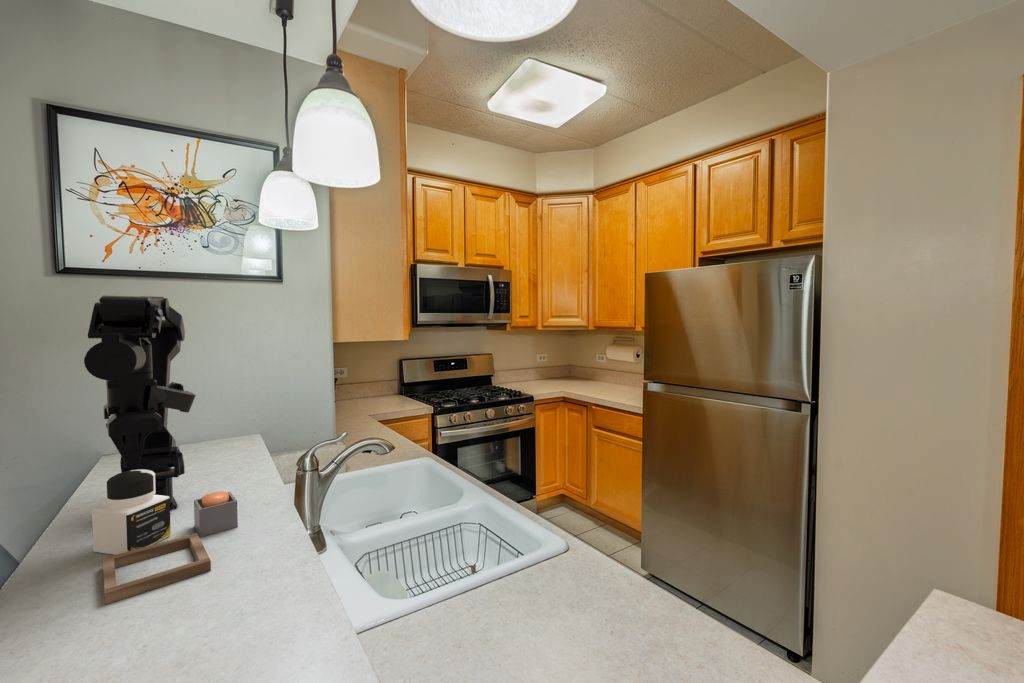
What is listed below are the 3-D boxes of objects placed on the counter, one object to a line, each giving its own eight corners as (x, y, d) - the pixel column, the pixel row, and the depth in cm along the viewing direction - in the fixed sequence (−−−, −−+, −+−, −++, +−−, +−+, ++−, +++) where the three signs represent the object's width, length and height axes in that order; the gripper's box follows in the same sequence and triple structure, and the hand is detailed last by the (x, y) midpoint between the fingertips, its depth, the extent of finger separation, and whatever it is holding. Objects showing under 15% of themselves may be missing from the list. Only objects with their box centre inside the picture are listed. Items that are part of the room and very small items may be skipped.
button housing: (194, 526, 79) (193, 500, 79) (230, 516, 83) (230, 491, 83) (200, 537, 75) (199, 509, 75) (237, 526, 79) (237, 500, 79)
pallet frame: (103, 568, 66) (102, 558, 66) (197, 541, 74) (197, 532, 74) (105, 604, 57) (104, 593, 57) (210, 570, 65) (210, 560, 65)
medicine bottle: (128, 557, 69) (125, 482, 68) (92, 552, 70) (89, 479, 69) (171, 536, 76) (170, 467, 75) (138, 531, 77) (136, 464, 76)
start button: (200, 506, 79) (199, 495, 79) (226, 500, 82) (225, 489, 82) (204, 513, 76) (204, 502, 76) (231, 507, 79) (230, 496, 79)
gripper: (200, 374, 70) (203, 469, 71) (181, 365, 84) (183, 445, 84) (106, 380, 63) (110, 487, 63) (101, 369, 76) (105, 457, 77)
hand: (132, 466), depth 72 cm, fingers closed
